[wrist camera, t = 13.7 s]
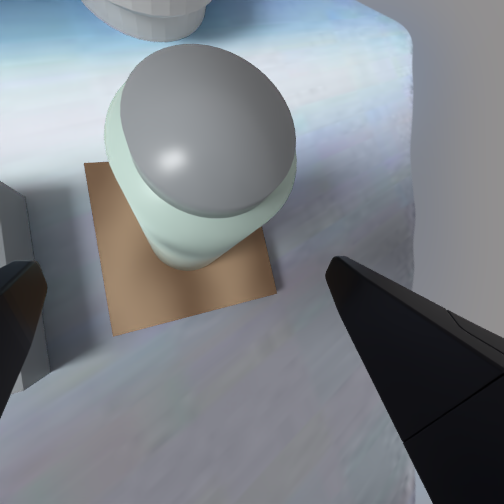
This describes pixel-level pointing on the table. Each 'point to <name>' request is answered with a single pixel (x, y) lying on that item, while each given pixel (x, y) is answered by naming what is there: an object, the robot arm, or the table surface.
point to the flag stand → (151, 17)
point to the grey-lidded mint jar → (200, 151)
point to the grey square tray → (20, 248)
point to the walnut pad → (165, 266)
